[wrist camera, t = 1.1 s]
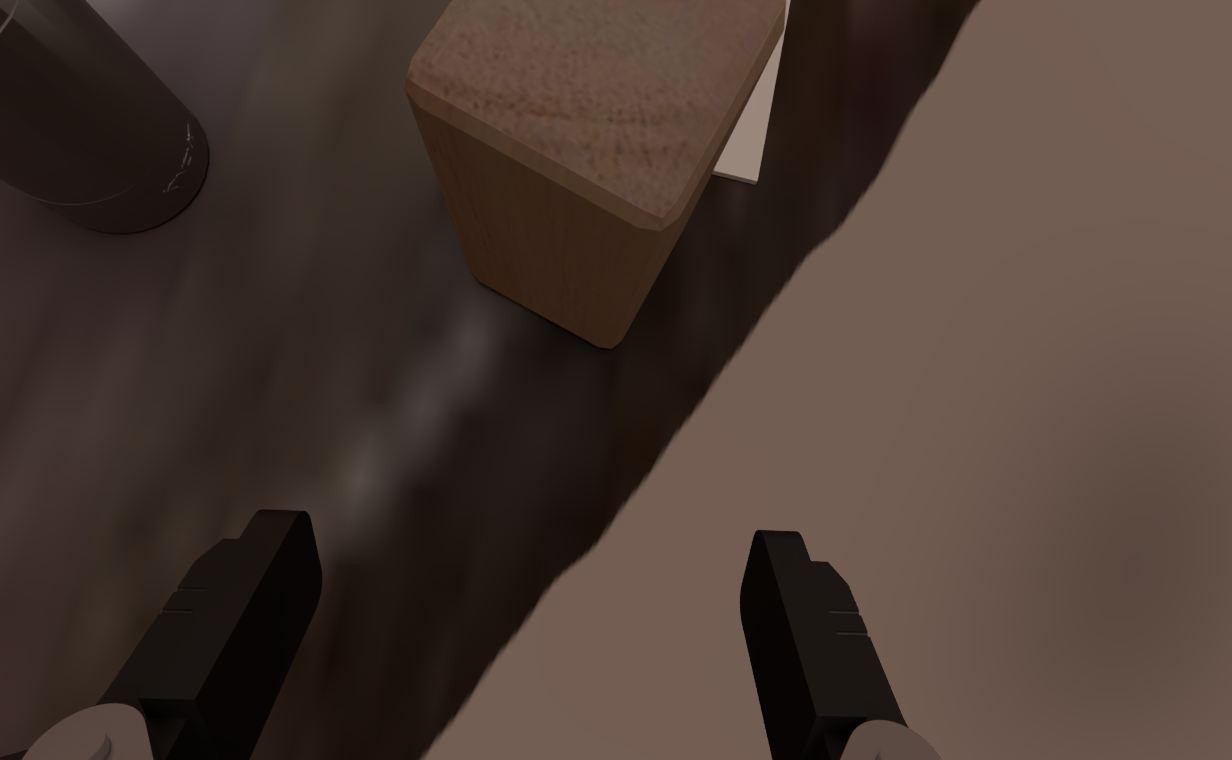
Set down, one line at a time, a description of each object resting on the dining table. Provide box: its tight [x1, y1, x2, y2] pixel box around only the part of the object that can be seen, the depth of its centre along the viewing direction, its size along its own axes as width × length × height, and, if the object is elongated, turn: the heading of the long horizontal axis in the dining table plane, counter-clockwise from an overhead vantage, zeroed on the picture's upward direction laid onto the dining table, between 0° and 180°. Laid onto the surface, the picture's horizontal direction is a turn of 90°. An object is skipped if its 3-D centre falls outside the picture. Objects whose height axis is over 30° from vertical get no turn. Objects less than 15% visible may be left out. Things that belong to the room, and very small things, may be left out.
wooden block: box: [405, 0, 786, 349], centre depth 31 cm, size 10×10×20 cm
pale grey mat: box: [712, 0, 790, 185], centre depth 44 cm, size 20×19×1 cm
